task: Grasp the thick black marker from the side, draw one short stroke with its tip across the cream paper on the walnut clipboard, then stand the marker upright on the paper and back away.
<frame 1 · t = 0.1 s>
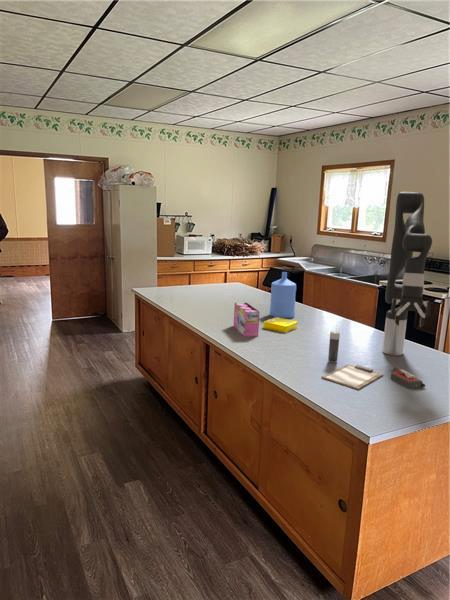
hand: (409, 326, 172), 22 cm above the counter, tool pointing down, fingers open, 8 cm apart
water jug: (281, 316, 278), on the counter
clipboard: (352, 376, 177), on the counter
element tile: (280, 329, 249), on the counter
marker: (332, 361, 195), on the counter
pink multipack package: (245, 331, 241), on the counter
walkie-talkie: (402, 380, 177), on the counter
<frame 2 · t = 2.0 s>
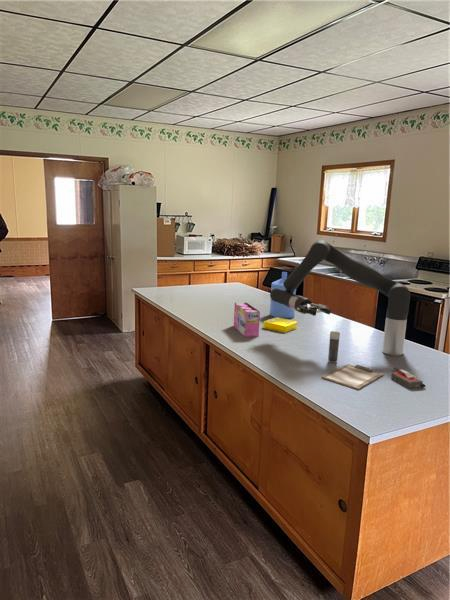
hand: (322, 312, 198), 20 cm above the counter, tool horizontal, fingers open, 8 cm apart
nothing on the counter moved.
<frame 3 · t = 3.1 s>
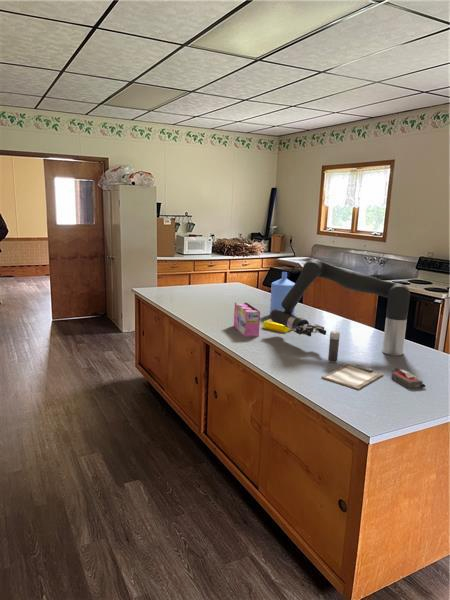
hand: (318, 333, 202), 10 cm above the counter, tool horizontal, fingers open, 8 cm apart
nothing on the counter moved.
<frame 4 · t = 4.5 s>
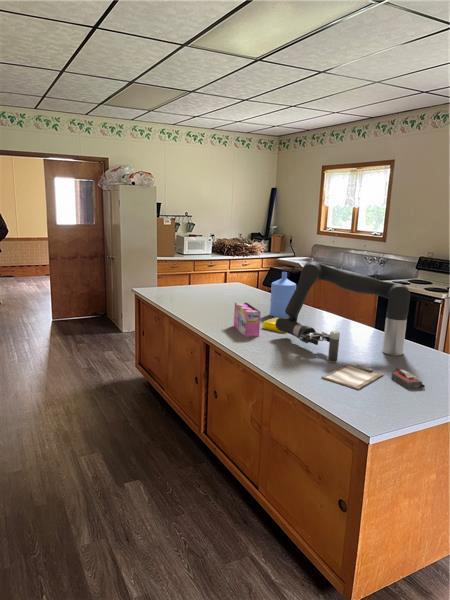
hand: (325, 341, 199), 7 cm above the counter, tool horizontal, fingers open, 8 cm apart
nothing on the counter moved.
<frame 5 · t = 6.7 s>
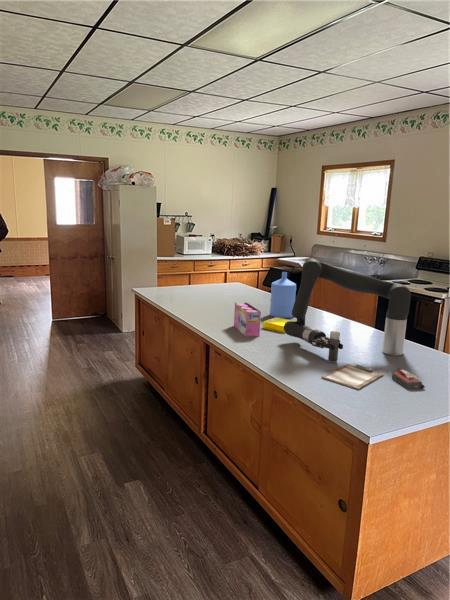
hand: (338, 347, 191), 7 cm above the counter, tool horizontal, fingers closed on marker, 4 cm apart
marker: (332, 361, 195), on the counter, touching gripper
everything else where it was.
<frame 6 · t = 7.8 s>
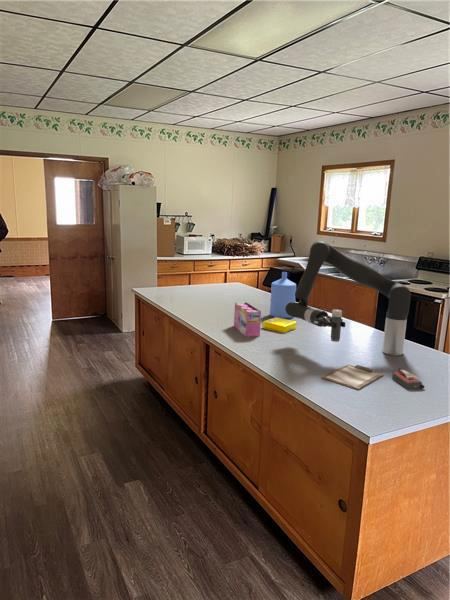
hand: (340, 325, 189), 18 cm above the counter, tool horizontal, fingers closed on marker, 4 cm apart
marker: (335, 340, 193), point 10 cm above the counter, touching gripper
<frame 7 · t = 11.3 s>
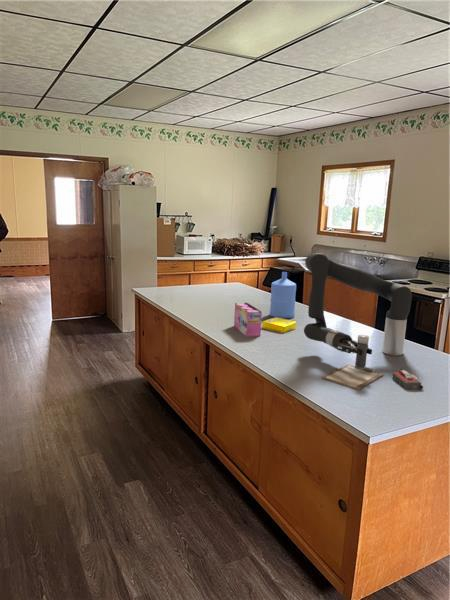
hand: (366, 352, 175), 11 cm above the counter, tool horizontal, fingers closed on marker, 4 cm apart
marker: (360, 367, 178), point 3 cm above the counter, touching gripper
when the fingers open (9 cm above the counter, at t = 14.9 s): marker drops 1 cm, resting on clipboard.
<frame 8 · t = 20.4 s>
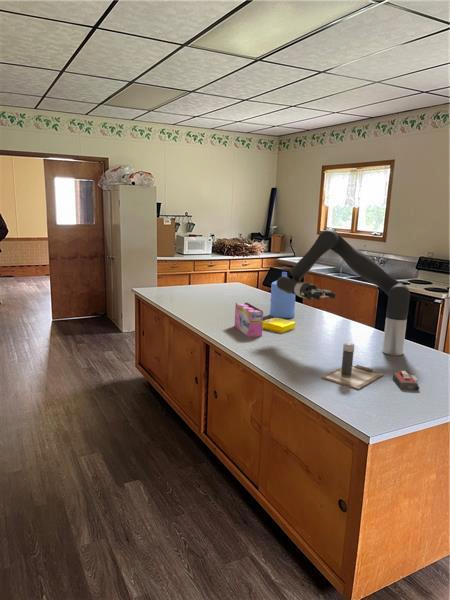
hand: (327, 296, 196), 28 cm above the counter, tool horizontal, fingers open, 8 cm apart
marker: (345, 376, 176), point 1 cm above the counter, touching clipboard
at the end: marker inside the target area on the clipboard (0.8 cm from its centre), point 0.7 cm above the clipboard's base; marker tilted 0°; the gripper is holding nothing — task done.
